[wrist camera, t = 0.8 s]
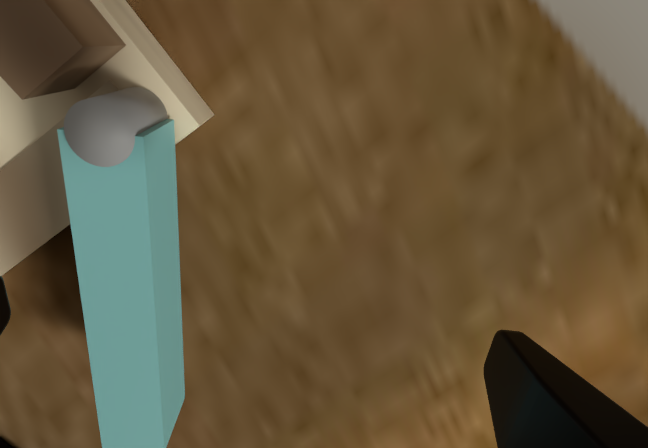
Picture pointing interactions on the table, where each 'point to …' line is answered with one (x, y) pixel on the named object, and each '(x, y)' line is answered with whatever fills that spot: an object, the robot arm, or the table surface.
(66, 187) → the hinged leg
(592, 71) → the table surface
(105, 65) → the square wooden tray
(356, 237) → the table surface
